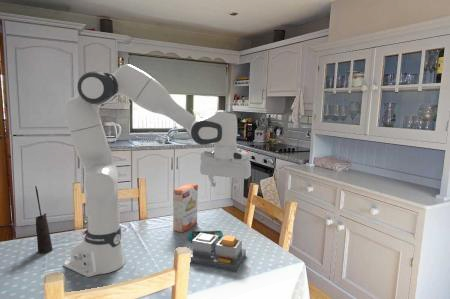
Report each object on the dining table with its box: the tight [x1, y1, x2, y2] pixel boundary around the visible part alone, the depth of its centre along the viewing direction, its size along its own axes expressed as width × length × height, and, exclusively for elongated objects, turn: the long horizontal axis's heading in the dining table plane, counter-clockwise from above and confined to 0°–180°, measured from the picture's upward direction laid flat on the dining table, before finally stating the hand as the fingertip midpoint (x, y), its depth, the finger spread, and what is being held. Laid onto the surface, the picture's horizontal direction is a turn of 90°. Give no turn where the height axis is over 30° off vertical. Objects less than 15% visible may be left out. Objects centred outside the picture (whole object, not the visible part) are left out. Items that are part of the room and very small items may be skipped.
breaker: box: [198, 234, 214, 243], centre depth 126 cm, size 5×5×3 cm
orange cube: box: [222, 234, 237, 247], centre depth 122 cm, size 4×4×4 cm
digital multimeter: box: [188, 230, 224, 243], centre depth 143 cm, size 8×15×3 cm, turn 95°
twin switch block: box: [190, 233, 247, 273], centre depth 124 cm, size 20×14×8 cm
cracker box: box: [172, 183, 199, 233], centre depth 154 cm, size 14×6×21 cm, turn 155°
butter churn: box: [34, 185, 54, 254], centre depth 128 cm, size 9×10×28 cm
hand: (224, 187), depth 122 cm, fingers open, 8 cm apart
